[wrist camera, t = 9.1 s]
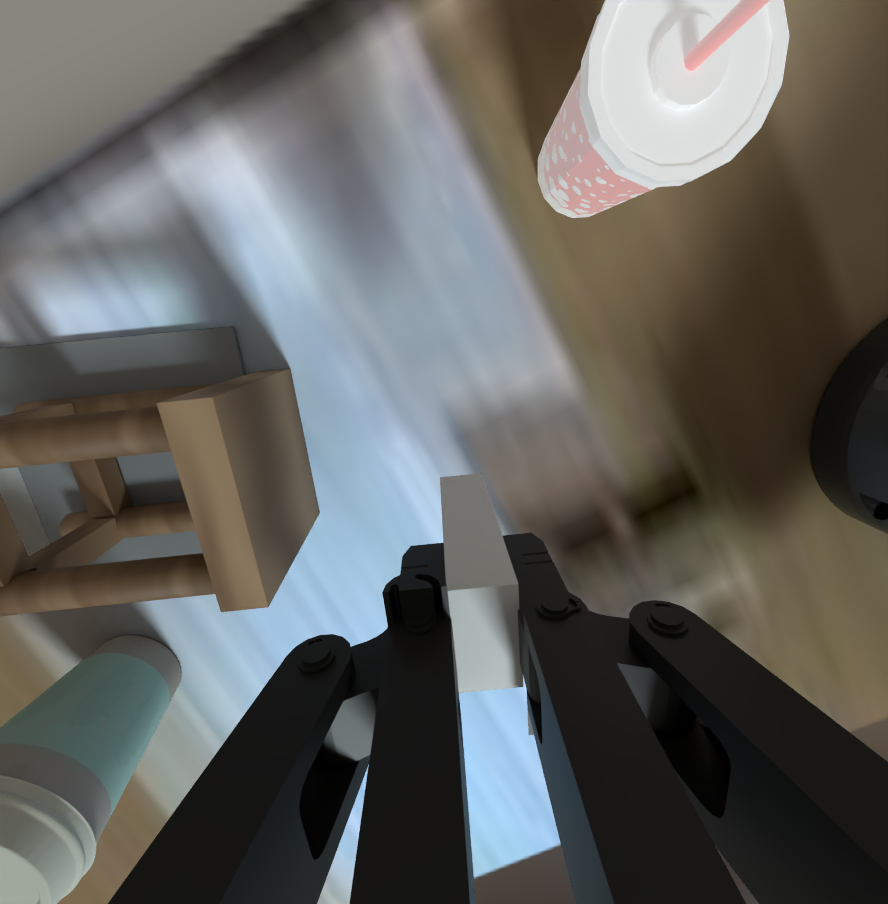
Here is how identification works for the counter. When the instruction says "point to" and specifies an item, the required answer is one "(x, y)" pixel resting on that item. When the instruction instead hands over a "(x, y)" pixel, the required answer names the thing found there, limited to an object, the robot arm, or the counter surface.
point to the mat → (106, 372)
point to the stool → (206, 510)
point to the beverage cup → (662, 98)
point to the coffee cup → (76, 764)
